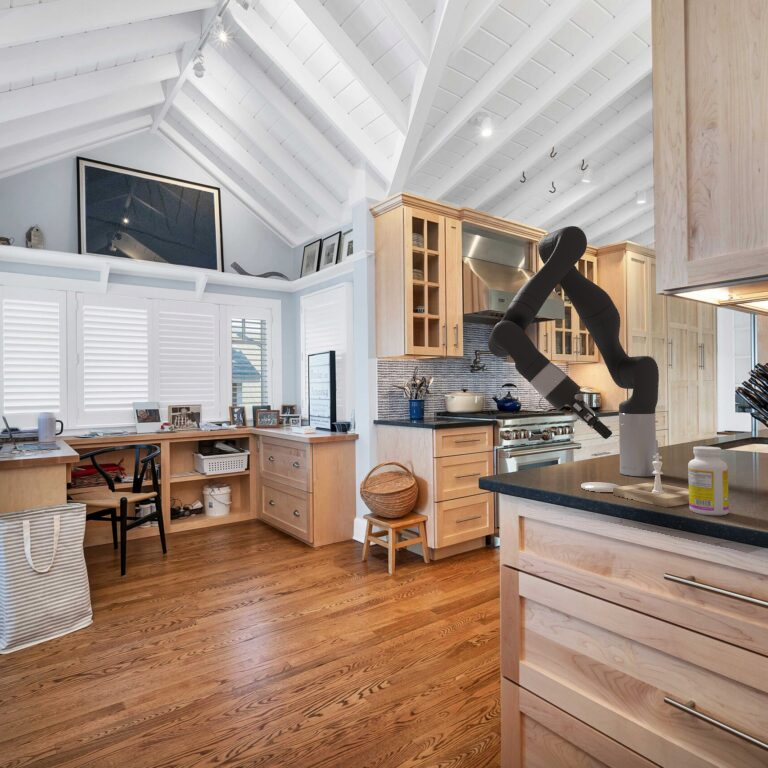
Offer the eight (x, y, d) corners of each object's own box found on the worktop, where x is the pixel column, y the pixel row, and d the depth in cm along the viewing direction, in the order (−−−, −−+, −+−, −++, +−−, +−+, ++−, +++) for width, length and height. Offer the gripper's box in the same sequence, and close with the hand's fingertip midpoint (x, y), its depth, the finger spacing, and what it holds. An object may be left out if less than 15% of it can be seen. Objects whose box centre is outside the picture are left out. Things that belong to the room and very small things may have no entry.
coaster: (599, 484, 130) (598, 480, 130) (629, 490, 122) (629, 487, 122) (573, 487, 126) (573, 484, 126) (603, 494, 118) (602, 490, 118)
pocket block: (651, 489, 122) (651, 482, 122) (705, 500, 110) (705, 492, 110) (613, 495, 116) (613, 487, 116) (666, 507, 105) (666, 498, 105)
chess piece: (650, 494, 117) (650, 451, 117) (674, 498, 113) (673, 453, 113) (642, 497, 114) (641, 453, 114) (665, 501, 110) (664, 455, 110)
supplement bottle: (717, 508, 103) (716, 445, 103) (736, 516, 97) (735, 449, 97) (682, 508, 104) (681, 445, 104) (699, 516, 97) (698, 449, 97)
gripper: (566, 373, 113) (623, 425, 109) (566, 374, 126) (617, 421, 123) (542, 397, 115) (597, 449, 111) (544, 396, 128) (593, 442, 124)
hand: (607, 434), depth 117 cm, fingers open, 8 cm apart
